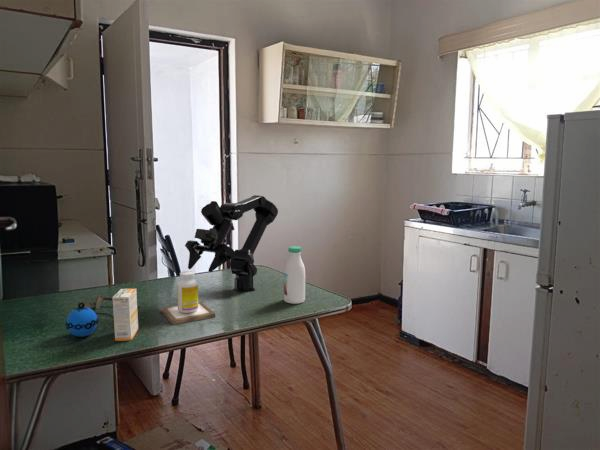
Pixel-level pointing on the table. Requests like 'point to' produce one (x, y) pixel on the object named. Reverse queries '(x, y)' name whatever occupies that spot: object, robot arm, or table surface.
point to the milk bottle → (294, 277)
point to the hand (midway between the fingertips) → (199, 270)
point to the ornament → (82, 321)
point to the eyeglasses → (99, 305)
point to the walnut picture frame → (187, 314)
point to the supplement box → (125, 314)
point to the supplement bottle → (187, 292)
